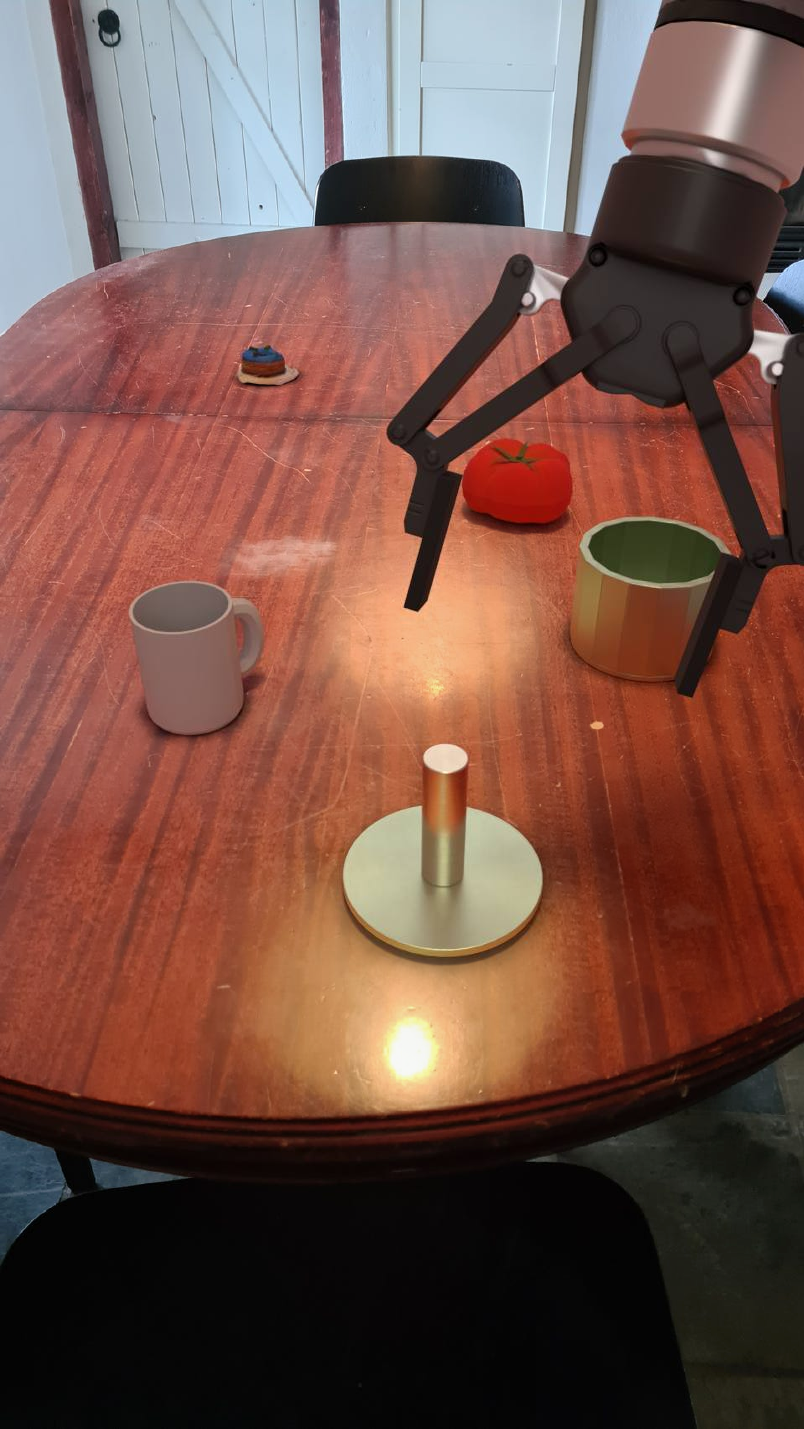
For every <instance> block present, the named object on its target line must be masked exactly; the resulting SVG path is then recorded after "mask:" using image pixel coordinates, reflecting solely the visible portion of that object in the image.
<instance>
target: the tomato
mask: <svg viewBox="0 0 804 1429" xmlns="http://www.w3.org/2000/svg"><path fill="white" fill-rule="evenodd" d="M528 443H529V442H528V441H526V442H525V443H523V442H522V441H520V440H519V439H513V438H507V437H505V438H499V439H494V440H493V441H491V442H489V443H487V444H486V445H484V446H483V447H481V448H480V449H479V450H477V452H476V453H475V455H474V456H472V457H471V458H470V459H469V460H468V461H467V462H468V463H467V464H466V466H465V468H464V470H463V474H462V475H463V477H462V480H461V489H462V490H461V491H462V496H463V498H464V500H465V502H466V504H467V506H468V507H469V509H470V510H472V511H474V512H476V513H482V514H488V515H490V516H491V517H493V518H495V519H498V520H500V521H501V520H502V521H506V522H511V523H516V524H529V523H533V524H541V525H544V524H547V523H551V522H554V521H555V520H558V519H559V518H560V517H561V516H562V515H563V514H564V513H565V511H566V510H567V508H568V507H569V505H570V504H571V500H572V496H573V492H574V484H573V483H574V482H573V475H572V472H571V463H570V461H569V459H568V456H567V455H566V453H563V452H561V451H559V450H557V448H555V447H554V446H552V445H551V444H548V443H544V442H536V443H535V442H534V443H532V444H530V445H528Z"/></svg>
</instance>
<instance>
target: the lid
mask: <svg viewBox="0 0 804 1429" xmlns="http://www.w3.org/2000/svg"><path fill="white" fill-rule="evenodd" d="M469 765H470V757H469V754H468V752H466V750H465V749H463V748H462V747H460V746H459V745H456V744H452V743H438V744H434V745H432V746H429V747H428V748H427V749H426V750H425V751H424V752H423V754H422V758H421V805H415V806H412V807H411V806H410V807H407V808H403V809H400V810H397V811H395V812H392V813H389V814H386V815H385V816H382V817H381V818H380V819H378V820H376V821H375V822H373V823H371V824H370V825H368V826H367V828H365V829H364V830H363V831H362V832H361V833H359V835H358V836H357V838H355V839H354V841H353V842H352V844H351V846H350V848H349V849H348V851H347V853H346V856H345V858H344V861H343V867H342V878H341V879H342V889H343V896H344V898H345V901H346V904H347V906H348V908H349V910H350V912H351V913H352V915H353V916H354V917H355V919H356V920H357V921H358V923H359V924H361V926H362V927H364V929H366V930H367V932H369V933H370V934H372V935H373V936H374V937H376V938H377V939H379V940H381V941H382V942H385V943H386V944H388V945H389V946H392V947H394V948H397V949H399V950H401V951H405V952H409V953H412V954H416V955H421V956H428V957H439V958H447V957H448V958H449V957H450V958H451V957H453V958H454V957H463V956H469V955H473V954H477V953H483V952H485V951H488V950H491V949H493V948H496V947H498V946H500V945H502V944H504V943H506V942H508V941H509V940H511V939H512V938H514V937H515V936H516V935H517V934H518V933H520V932H521V931H522V930H523V929H524V928H525V927H526V925H528V923H529V922H530V921H531V920H532V919H533V917H534V915H535V913H536V912H537V910H538V909H539V905H540V903H541V900H542V894H543V888H544V872H543V866H542V863H541V860H540V858H539V855H538V854H537V851H536V850H535V848H534V847H533V845H532V844H531V843H530V841H529V840H528V839H527V837H525V835H523V834H522V832H520V831H519V830H518V829H517V828H515V827H514V826H513V825H511V824H510V823H508V822H507V821H505V820H504V819H502V818H500V817H498V816H496V815H494V814H492V813H489V812H487V811H483V810H482V809H477V808H473V807H469V806H468V793H469V792H468V790H469V769H470V767H469Z"/></svg>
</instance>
